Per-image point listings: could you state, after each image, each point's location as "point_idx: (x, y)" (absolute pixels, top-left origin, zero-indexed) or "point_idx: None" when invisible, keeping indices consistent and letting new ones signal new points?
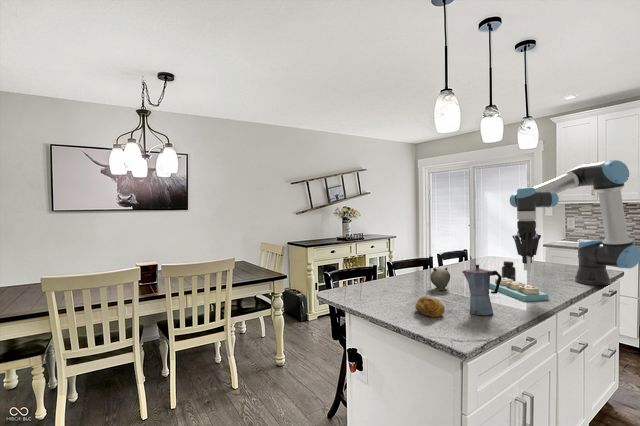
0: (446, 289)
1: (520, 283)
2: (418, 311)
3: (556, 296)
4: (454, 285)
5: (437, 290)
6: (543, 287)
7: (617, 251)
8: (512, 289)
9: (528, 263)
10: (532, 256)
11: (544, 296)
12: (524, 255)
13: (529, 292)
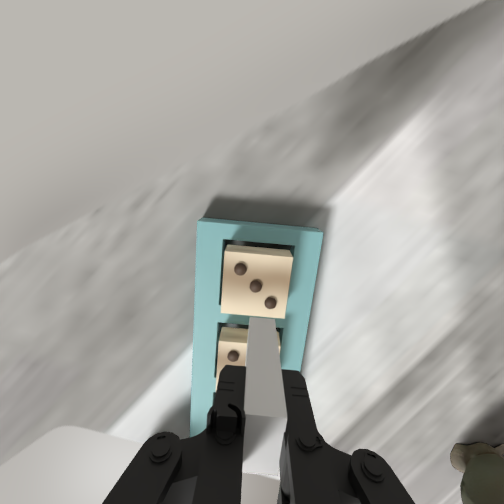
0: (462, 446)
1: (236, 352)
2: None
3: (131, 250)
4: None
5: (502, 445)
6: (81, 374)
7: None
8: None
9: (272, 357)
10: (226, 407)
11: (219, 221)
12: (323, 453)
13: (276, 250)
